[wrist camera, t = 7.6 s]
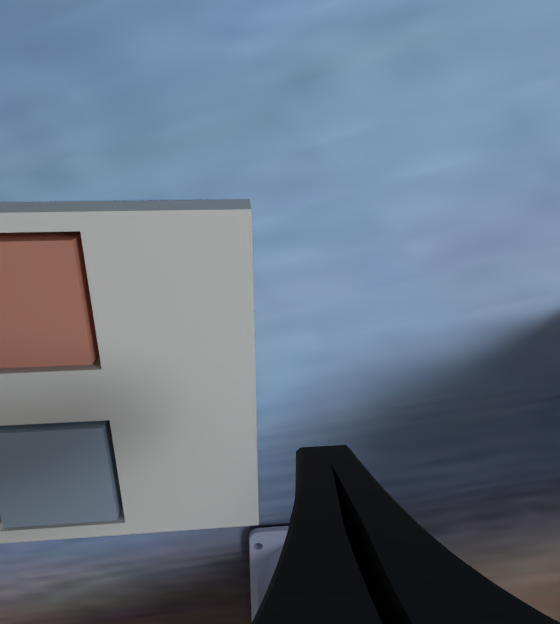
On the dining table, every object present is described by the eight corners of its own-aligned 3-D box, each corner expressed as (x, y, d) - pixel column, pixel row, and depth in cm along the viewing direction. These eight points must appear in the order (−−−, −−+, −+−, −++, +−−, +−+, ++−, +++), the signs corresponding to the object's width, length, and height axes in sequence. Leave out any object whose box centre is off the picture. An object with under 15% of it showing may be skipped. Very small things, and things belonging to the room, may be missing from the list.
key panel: (256, 481, 25) (258, 525, 22) (-97, 504, 23) (-142, 553, 21) (249, 199, 20) (251, 209, 17) (-207, 204, 18) (-287, 216, 15)
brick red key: (110, 335, 21) (92, 364, 18) (-4, 339, 21) (-41, 369, 18) (95, 226, 19) (71, 240, 17) (-31, 228, 19) (-75, 243, 16)
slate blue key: (130, 477, 24) (117, 520, 21) (30, 483, 23) (3, 528, 21) (118, 392, 22) (102, 428, 19) (10, 397, 22) (-22, 434, 19)
